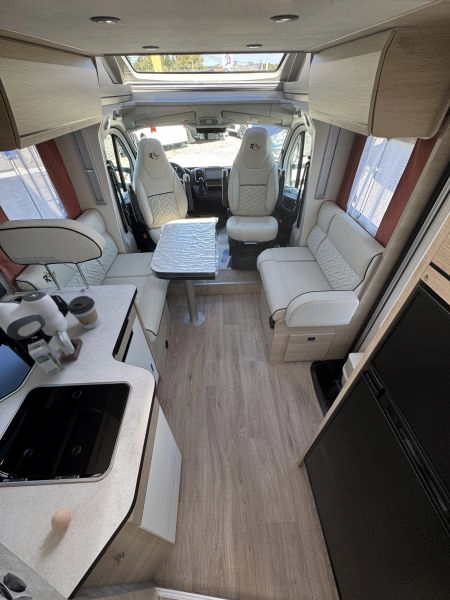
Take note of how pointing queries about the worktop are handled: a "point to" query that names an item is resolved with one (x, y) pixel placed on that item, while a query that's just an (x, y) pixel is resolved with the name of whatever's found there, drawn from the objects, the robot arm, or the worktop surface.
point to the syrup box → (44, 356)
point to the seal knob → (73, 343)
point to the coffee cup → (84, 311)
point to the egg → (61, 519)
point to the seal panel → (75, 355)
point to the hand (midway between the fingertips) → (69, 345)
